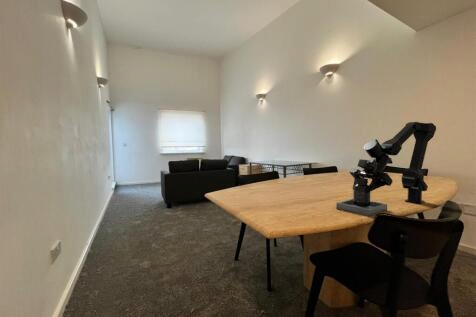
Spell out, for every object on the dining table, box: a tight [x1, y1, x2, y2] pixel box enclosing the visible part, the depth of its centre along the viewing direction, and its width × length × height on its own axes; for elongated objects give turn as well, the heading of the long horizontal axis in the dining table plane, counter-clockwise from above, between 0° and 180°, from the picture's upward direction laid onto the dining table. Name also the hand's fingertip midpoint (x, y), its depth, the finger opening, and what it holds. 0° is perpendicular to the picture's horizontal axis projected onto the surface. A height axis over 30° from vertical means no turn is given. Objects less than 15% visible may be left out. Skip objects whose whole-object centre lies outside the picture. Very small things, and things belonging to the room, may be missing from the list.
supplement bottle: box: [352, 178, 371, 207], centre depth 109 cm, size 7×7×12 cm
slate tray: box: [335, 198, 388, 218], centre depth 110 cm, size 15×15×3 cm
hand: (359, 191), depth 109 cm, fingers closed on supplement bottle, 7 cm apart
